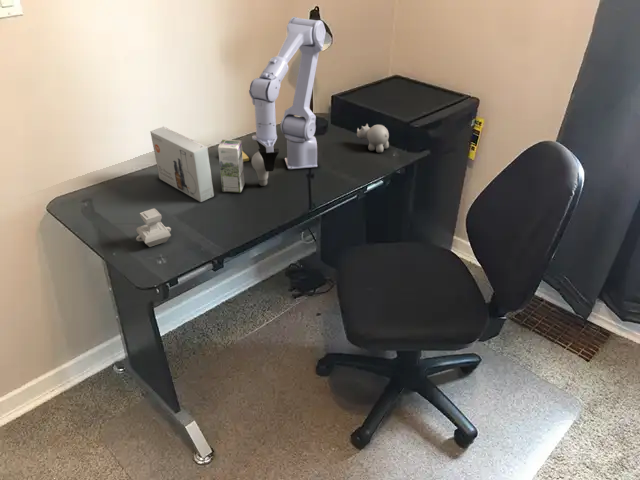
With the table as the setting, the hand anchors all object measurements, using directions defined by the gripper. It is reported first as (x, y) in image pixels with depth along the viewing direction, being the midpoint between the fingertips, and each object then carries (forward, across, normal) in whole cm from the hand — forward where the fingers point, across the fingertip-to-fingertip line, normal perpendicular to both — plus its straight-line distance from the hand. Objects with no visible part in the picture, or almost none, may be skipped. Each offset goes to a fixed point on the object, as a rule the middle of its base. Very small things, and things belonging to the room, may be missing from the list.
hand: (267, 165), depth 167 cm
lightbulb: (+7, 0, -2) cm, 7 cm away
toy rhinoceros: (+7, -21, +38) cm, 44 cm away
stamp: (+7, +25, -32) cm, 42 cm away
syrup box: (+7, 0, -10) cm, 13 cm away
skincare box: (+7, -3, -24) cm, 26 cm away
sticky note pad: (+7, -21, -9) cm, 24 cm away
